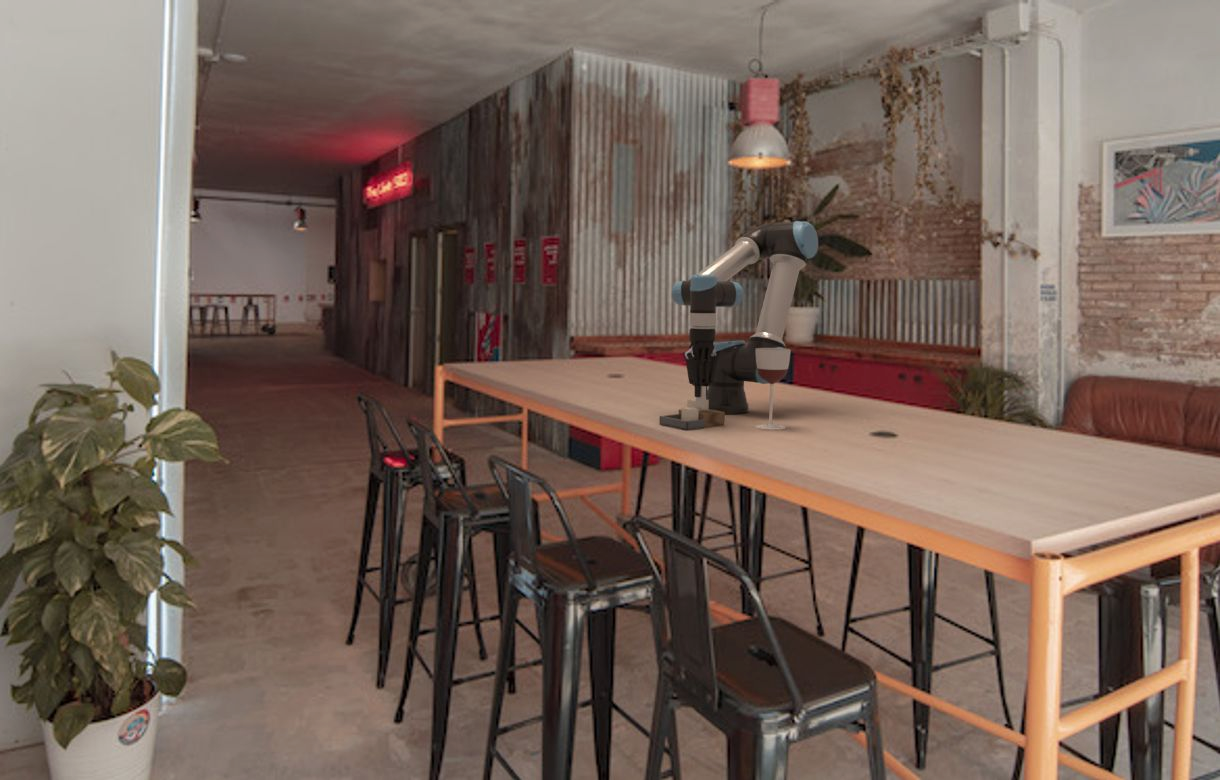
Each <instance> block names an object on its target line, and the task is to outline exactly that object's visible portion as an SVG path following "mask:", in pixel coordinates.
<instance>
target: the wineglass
mask: <svg viewBox="0 0 1220 780" xmlns="http://www.w3.org/2000/svg"><path fill="white" fill-rule="evenodd" d="M791 352H792V351H791V349H790V348H785V349H784V348H756V364H757V371H758V374H759V376H760V377H761V378H763V379H764V380H766V381H767V382H769V383H770V384H769V385H770V386H769V411H768V412H769V414H768V415H769V417H768V423H767V424H757V425H755V427H756V428H758V429H763V430H784V429H785V428H786V426H784V425H779V424H773V408H774V407H773V406H774V403H773V402H774V384H776V383H775V382H777V381H779V380H780V381H781V380H783V379H785V377H786V376H787V374H788V369H789V367H790V360H791ZM788 366H789V367H788ZM780 381H779V382H780ZM777 383H778V382H777Z"/></svg>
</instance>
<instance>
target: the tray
mask: <svg viewBox="0 0 1220 780" xmlns="http://www.w3.org/2000/svg"><path fill="white" fill-rule="evenodd" d="M659 426H663V427H669V428H671V429H672V428H673V429H678V430H681V431H693V430H701V429H706V428H705V419H701V420H692V421H684V420H679V413H675V414H666V415H659Z"/></svg>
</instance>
